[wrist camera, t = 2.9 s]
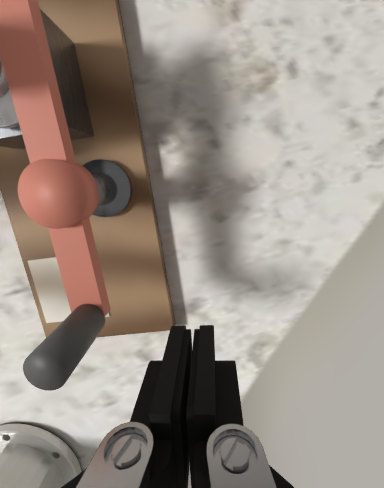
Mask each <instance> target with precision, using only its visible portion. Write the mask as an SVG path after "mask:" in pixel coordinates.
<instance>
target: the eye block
mask: <svg viewBox="0 0 384 488" xmlns="http://www.w3.org/2000/svg"><path fill="white" fill-rule="evenodd" d="M40 12H41V16H42V20H43V25H44V29H45V33H46V37H47V41H48V46H49V50H50V54H51V58H52V63H53V67H54V71H55V75H56V80H57V84H58V88H59V92H60V96H61V101H62V105H63V109H64V113H65V118H66V122H67V126H68V130H69V135H70V139H71V140H77V139H83V138H89V137H94V132H93V127H92V123H91V118H90V114H89V109H88V104H87V100H86V95H85V90H84V86H83V81H82V76H81V72H80V67H79V63H78V58H77V53H76V49H75V44H74V42H73V41H72V40H71V39H70V38H69V37H68V36H67V35H66V34H65V33H64V32H63V31H62V30H61V29H60V28H59V27H58V26H57V25H56V24H55V23H54V22H53V21H52V20H51V19H50V18H49V17H48V16H47V15H46V14H45V13H44V12H43V11H42V10H41V9H40ZM0 147H7V148H13V149H22V148H26V147H25V143H24V140H23V136H22V132H21V129H20V126H18V127H14V128H7V129H5V128H0Z"/></svg>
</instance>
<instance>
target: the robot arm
mask: <svg viewBox="0 0 384 488" xmlns="http://www.w3.org/2000/svg"><path fill="white" fill-rule="evenodd" d="M189 462H190V473H191V486H192V488H294V487H293V486H292V485H291V484H290V483H289V482H287V481H286V480H285V479H284V478H283V477H282V476H281V475H280V474H279V473H277V472H276V471H275V470H274V469H273V468H272V467H270V465H269V464H268V461H267V459H266V455H265V452H264V449H263V446H262V444H261V442H260V440H259V438H258V437H257V436H256V435H255V434H254V433H253V432H252V431H251V430H249V429H248V428H246V427H244V426H243V418H242V410H241V402H240V395H239V387H238V379H237V371H236V364H235V361H215V348H214V325H200V329H195V331H194V341H193V350H192V339H191V329H186V326H171V329H170V333H169V337H168V341H167V345H166V349H165V353H164V357H163V361H150V362H149V364H148V367H147V370H146V374H145V377H144V380H143V383H142V386H141V389H140V392H139V395H138V398H137V401H136V404H135V408H134V411H133V414H132V417H131V420H130V422H128V423H124V424H121V425H119V426H117V427H115V428H114V429H112V430H111V431H110V432H109V433H108V434H107V435H106V436H105V438H104V439H103V440H102V442H101V444H100V445H99V447H98V449H97V451H96V453H95V454H94V456H93V458H92V460H91V462H90V463H89V465H88V467H87V469H85V470H84V471H82V472H81V467H80V464H79V461H78V459H77V458H76V456H75V454H74V452H73V451H72V450H71V449H70V448H69V446H68V445H67V444H66V443H64V442H63V441H62V440H61V439H60V438H58V437H57V436H55V435H54V434H52V433H50V432H48V431H46V430H44V429H41V428H39V427H35V426H32V425H26V424H5V425H0V488H188V475H189Z"/></svg>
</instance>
